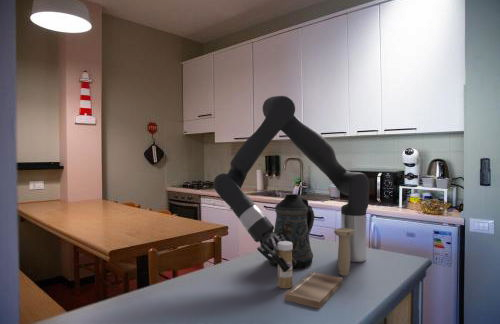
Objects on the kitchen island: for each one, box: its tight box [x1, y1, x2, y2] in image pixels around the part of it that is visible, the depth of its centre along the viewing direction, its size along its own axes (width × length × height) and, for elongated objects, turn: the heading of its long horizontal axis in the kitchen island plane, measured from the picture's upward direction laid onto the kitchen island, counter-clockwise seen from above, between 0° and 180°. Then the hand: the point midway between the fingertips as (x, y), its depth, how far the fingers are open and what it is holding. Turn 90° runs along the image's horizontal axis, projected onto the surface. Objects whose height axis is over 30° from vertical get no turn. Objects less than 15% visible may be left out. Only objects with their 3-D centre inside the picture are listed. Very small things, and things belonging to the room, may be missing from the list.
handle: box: [333, 227, 354, 277], centre depth 112 cm, size 5×6×15 cm
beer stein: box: [269, 194, 315, 270], centre depth 127 cm, size 16×19×25 cm
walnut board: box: [284, 271, 344, 310], centre depth 99 cm, size 20×10×2 cm, turn 148°
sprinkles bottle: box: [277, 241, 293, 290], centre depth 102 cm, size 5×5×13 cm
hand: (290, 267), depth 101 cm, fingers closed on sprinkles bottle, 4 cm apart
